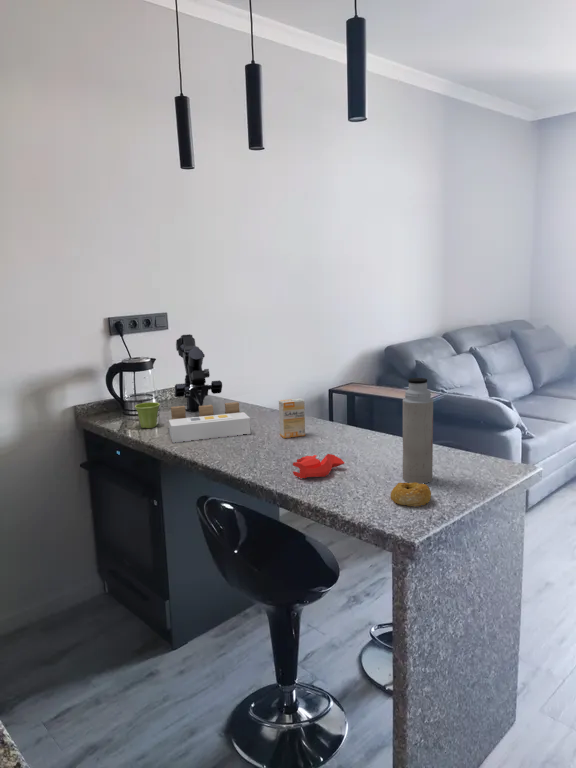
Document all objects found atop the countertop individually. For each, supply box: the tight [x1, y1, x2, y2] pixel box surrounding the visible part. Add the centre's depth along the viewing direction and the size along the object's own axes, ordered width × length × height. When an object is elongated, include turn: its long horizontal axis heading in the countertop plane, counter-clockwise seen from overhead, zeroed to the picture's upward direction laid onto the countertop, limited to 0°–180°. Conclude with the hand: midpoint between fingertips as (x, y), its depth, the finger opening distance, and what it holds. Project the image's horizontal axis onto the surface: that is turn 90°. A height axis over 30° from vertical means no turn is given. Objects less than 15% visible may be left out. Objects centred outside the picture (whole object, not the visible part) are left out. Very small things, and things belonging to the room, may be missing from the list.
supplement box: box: [278, 397, 306, 439], centre depth 203 cm, size 8×5×13 cm, turn 109°
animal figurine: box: [292, 453, 345, 479], centre depth 166 cm, size 12×15×5 cm
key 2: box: [224, 401, 240, 414], centre depth 219 cm, size 2×5×8 cm, turn 107°
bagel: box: [390, 482, 432, 507], centre depth 143 cm, size 10×11×5 cm
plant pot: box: [134, 401, 161, 429], centre depth 224 cm, size 9×9×9 cm
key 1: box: [170, 405, 187, 420], centre depth 216 cm, size 2×5×8 cm, turn 107°
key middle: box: [198, 404, 214, 417], centre depth 216 cm, size 2×5×8 cm, turn 107°
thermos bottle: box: [402, 377, 434, 484], centre depth 155 cm, size 8×8×28 cm
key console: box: [167, 411, 252, 444], centre depth 213 cm, size 18×28×6 cm, turn 107°
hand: (201, 406), depth 227 cm, fingers closed
